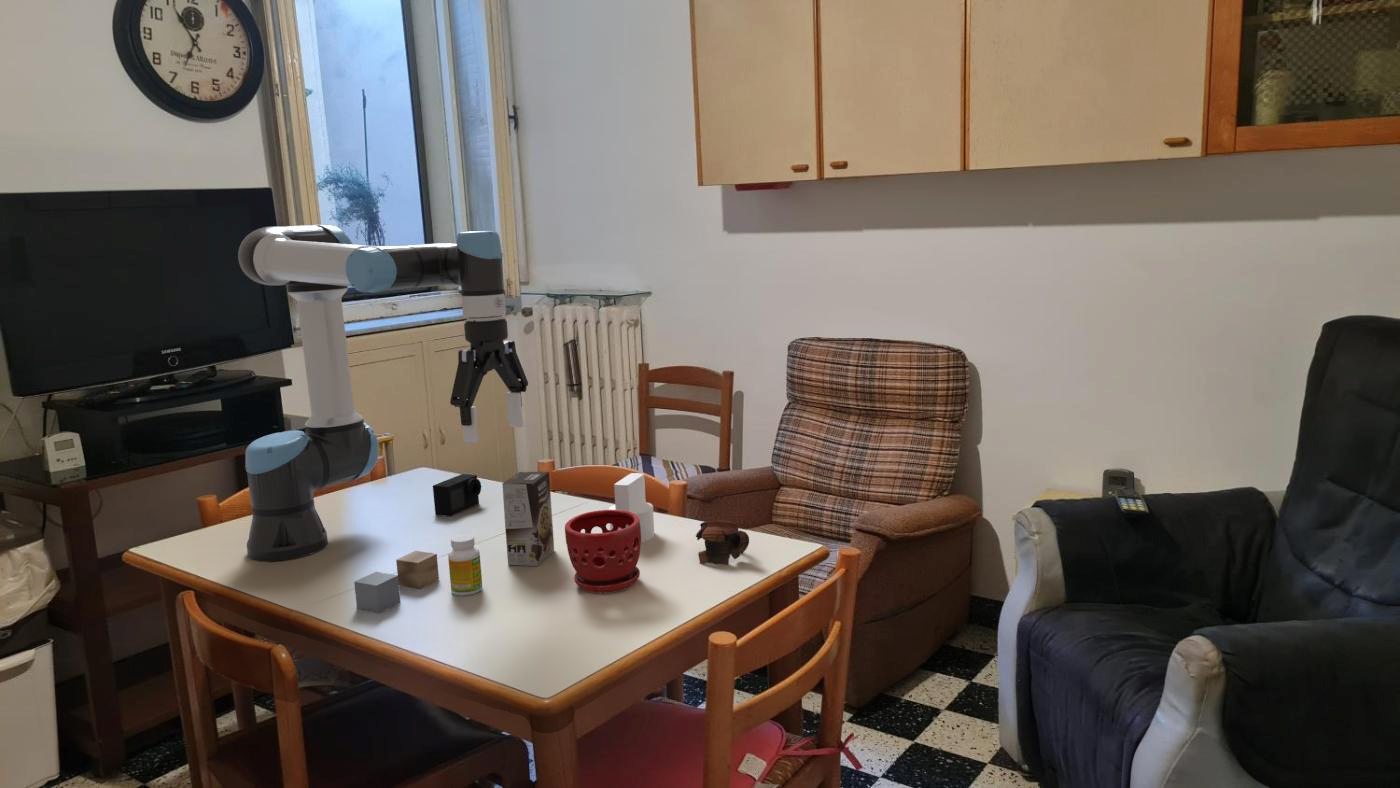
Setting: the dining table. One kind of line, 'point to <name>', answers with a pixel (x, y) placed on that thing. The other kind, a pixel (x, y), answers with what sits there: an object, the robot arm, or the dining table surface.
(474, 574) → the supplement bottle
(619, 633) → the dining table surface
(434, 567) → the walnut block
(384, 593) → the slate block
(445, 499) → the digital camera
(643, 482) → the base with upright slab
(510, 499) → the coffee box
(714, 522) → the pottery mug
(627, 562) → the plant pot
